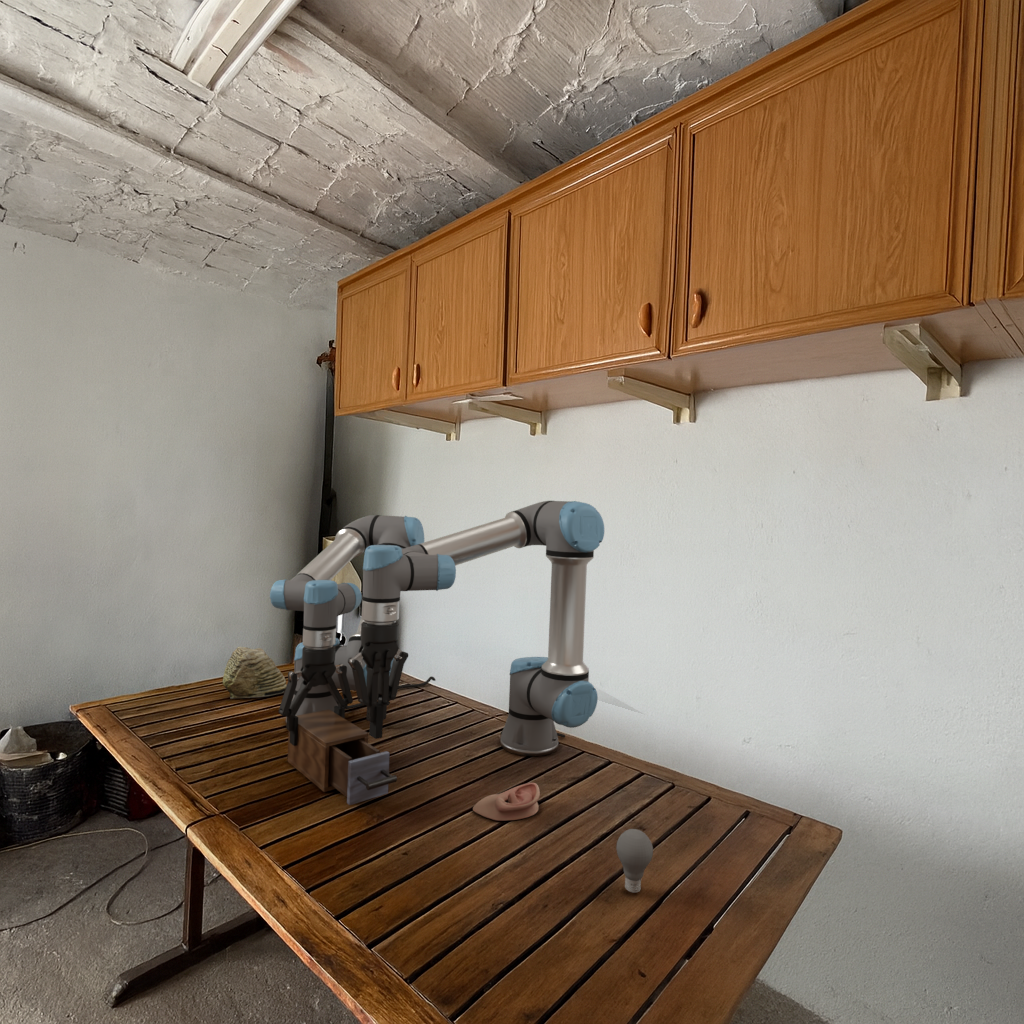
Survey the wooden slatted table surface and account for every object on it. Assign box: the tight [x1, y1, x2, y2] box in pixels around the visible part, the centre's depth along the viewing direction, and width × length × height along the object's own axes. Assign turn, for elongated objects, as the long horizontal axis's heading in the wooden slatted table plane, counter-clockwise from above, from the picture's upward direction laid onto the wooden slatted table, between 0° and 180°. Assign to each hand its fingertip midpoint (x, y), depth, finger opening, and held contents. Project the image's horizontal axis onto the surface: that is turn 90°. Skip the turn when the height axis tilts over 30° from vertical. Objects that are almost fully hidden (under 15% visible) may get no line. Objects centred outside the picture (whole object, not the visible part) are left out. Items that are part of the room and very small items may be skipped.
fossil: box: [222, 646, 287, 699], centre depth 198 cm, size 9×18×15 cm, turn 132°
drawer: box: [328, 739, 398, 806], centre depth 136 cm, size 24×9×9 cm, turn 41°
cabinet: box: [287, 709, 369, 793], centre depth 146 cm, size 20×10×11 cm, turn 41°
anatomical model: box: [472, 782, 541, 822], centre depth 132 cm, size 13×4×12 cm
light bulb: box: [615, 828, 654, 894], centre depth 106 cm, size 6×6×10 cm
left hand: (315, 738), depth 151 cm, fingers closed on cabinet, 10 cm apart
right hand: (375, 736), depth 129 cm, fingers closed
